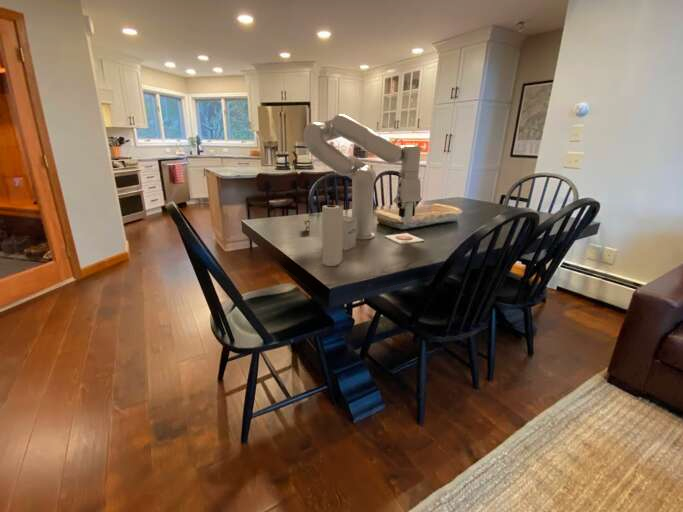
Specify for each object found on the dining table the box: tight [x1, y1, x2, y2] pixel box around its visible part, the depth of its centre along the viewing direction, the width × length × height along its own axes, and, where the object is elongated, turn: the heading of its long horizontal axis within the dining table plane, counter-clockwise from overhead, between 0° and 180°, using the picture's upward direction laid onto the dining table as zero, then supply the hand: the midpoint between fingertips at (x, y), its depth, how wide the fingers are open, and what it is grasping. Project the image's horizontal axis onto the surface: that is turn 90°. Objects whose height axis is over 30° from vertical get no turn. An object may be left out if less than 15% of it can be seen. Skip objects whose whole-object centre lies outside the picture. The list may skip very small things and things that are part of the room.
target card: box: [384, 232, 425, 246], centre depth 153 cm, size 13×13×1 cm
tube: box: [400, 202, 413, 223], centre depth 149 cm, size 5×5×10 cm
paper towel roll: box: [321, 204, 344, 267], centre depth 118 cm, size 7×6×21 cm
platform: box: [303, 217, 313, 234], centre depth 161 cm, size 12×18×7 cm, turn 8°
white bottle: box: [342, 215, 357, 251], centre depth 138 cm, size 7×7×13 cm
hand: (406, 215), depth 149 cm, fingers closed on tube, 5 cm apart
